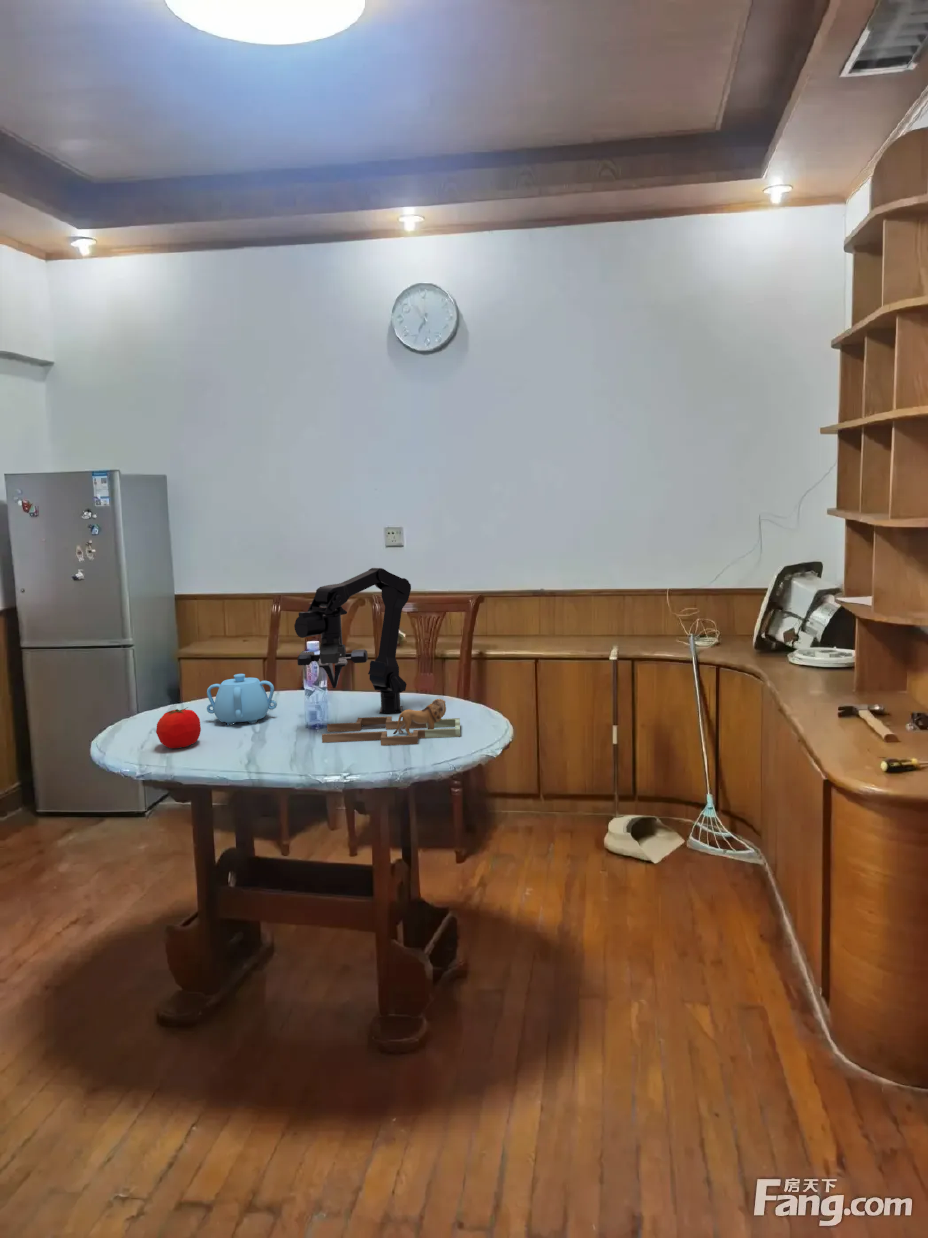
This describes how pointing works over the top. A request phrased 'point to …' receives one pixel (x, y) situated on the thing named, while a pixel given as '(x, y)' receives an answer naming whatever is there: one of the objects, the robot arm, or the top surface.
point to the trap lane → (388, 724)
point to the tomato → (178, 728)
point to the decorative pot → (241, 700)
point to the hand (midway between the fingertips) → (334, 687)
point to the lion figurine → (422, 716)
